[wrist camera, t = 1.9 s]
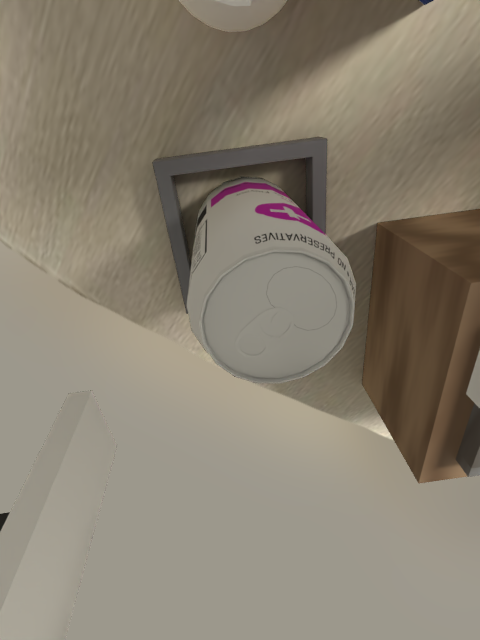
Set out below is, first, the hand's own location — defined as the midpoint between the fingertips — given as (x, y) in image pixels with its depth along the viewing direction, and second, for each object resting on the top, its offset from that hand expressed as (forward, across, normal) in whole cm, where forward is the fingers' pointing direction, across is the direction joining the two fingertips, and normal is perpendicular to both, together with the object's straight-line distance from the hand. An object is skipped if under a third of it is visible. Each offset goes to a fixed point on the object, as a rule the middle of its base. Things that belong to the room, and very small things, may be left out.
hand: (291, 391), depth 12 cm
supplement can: (+19, 0, 0) cm, 19 cm away
